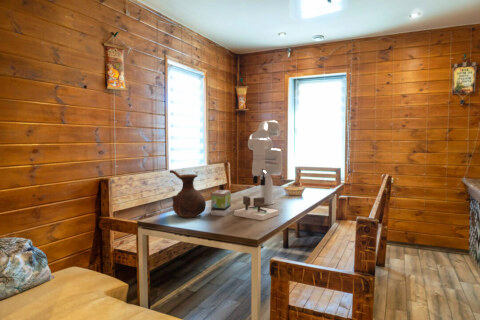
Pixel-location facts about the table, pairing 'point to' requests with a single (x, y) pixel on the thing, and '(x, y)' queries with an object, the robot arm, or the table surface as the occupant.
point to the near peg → (259, 203)
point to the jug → (188, 198)
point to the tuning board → (256, 213)
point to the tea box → (220, 202)
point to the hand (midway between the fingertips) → (259, 184)
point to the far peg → (247, 202)
